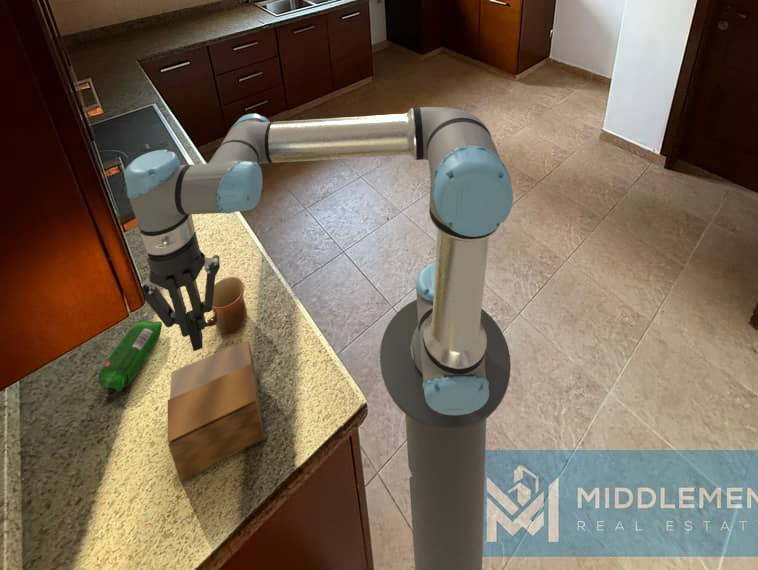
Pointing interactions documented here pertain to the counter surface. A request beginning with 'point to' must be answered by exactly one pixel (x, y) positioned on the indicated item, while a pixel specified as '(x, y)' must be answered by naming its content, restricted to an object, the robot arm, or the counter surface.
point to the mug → (228, 306)
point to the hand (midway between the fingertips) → (198, 343)
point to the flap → (210, 402)
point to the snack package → (130, 354)
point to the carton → (225, 431)
